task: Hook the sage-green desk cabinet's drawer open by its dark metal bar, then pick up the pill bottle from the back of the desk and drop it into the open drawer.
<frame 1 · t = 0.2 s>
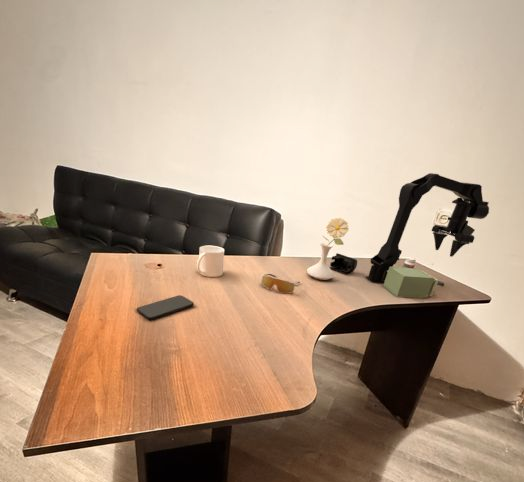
hand: (443, 253, 132), 15 cm above the table, tool pointing down, fingers open, 9 cm apart
end cap: (341, 271, 140), on the table
flower in vase: (320, 278, 127), on the table
sunglasses: (280, 286, 114), on the table
pill bottle: (405, 275, 146), on the table
cabinet: (404, 291, 125), on the table
drawer: (420, 282, 124), point 4 cm above the table, slide at 1.5 cm
smartphone: (166, 308, 87), on the table
mug: (207, 274, 115), on the table
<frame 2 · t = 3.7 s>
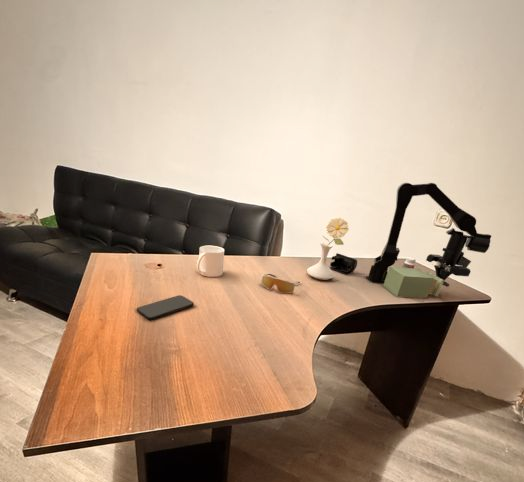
hand: (438, 284, 126), 4 cm above the table, tool pointing down, fingers closed, pressing on drawer
drawer: (425, 283, 125), point 4 cm above the table, slide at 4.0 cm, touching gripper
everything else where it was.
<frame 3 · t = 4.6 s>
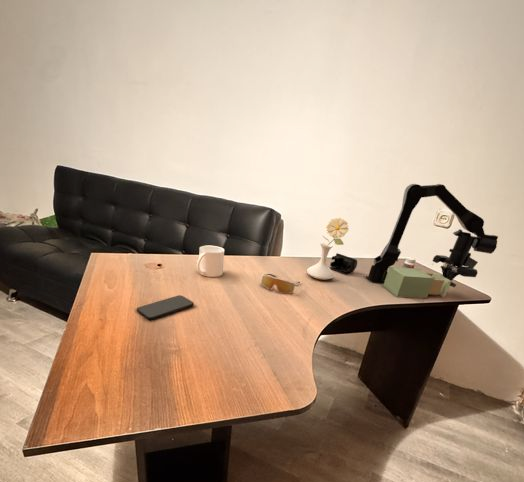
hand: (445, 285, 127), 4 cm above the table, tool pointing down, fingers closed, pressing on drawer
drawer: (432, 283, 125), point 4 cm above the table, slide at 7.4 cm, touching gripper
everything else where it was.
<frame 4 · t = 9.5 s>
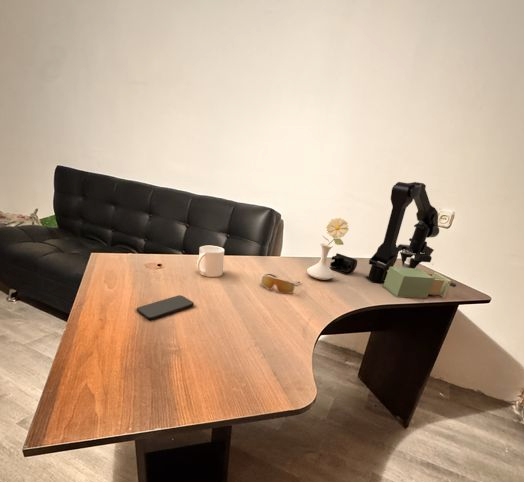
hand: (407, 270, 145), 3 cm above the table, tool pointing down, fingers closed on pill bottle, 5 cm apart
pill bottle: (405, 275, 146), on the table, touching gripper
drawer: (432, 283, 125), point 4 cm above the table, slide at 7.4 cm
everything else where it was.
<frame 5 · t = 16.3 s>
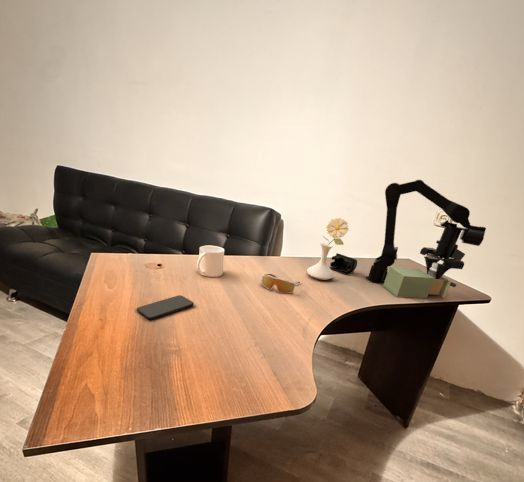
hand: (432, 277, 124), 7 cm above the table, tool pointing down, fingers closed on pill bottle, 5 cm apart
pill bottle: (430, 284, 125), point 4 cm above the table, touching gripper
everything else where it was.
when the fingers open (9 cm above the table, at t = 23.9 s): pill bottle drops 4 cm, resting on drawer.
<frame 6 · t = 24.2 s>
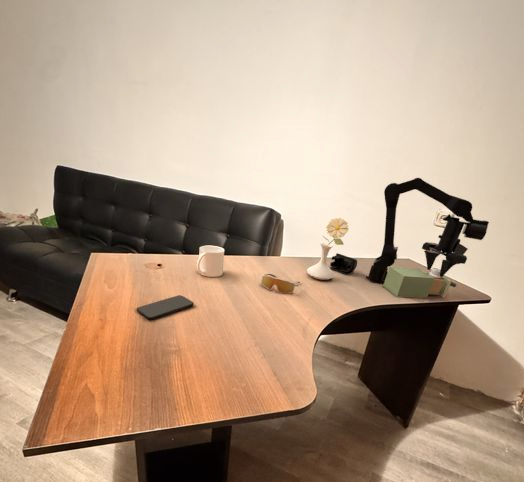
hand: (434, 273, 123), 9 cm above the table, tool pointing down, fingers open, 7 cm apart
pill bottle: (428, 288, 126), point 2 cm above the table, touching drawer
drawer: (432, 283, 126), point 4 cm above the table, slide at 7.4 cm, touching pill bottle
everything else where it was.
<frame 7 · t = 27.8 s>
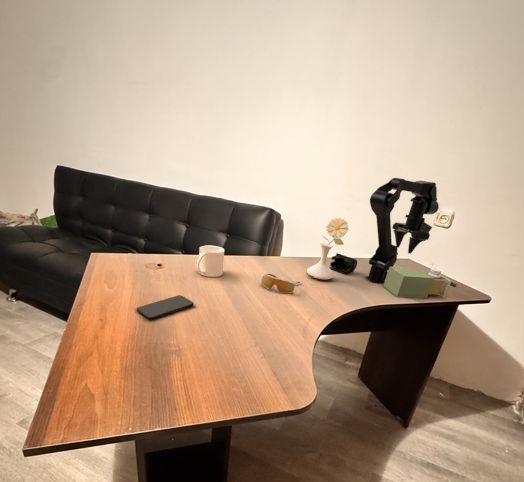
hand: (403, 250, 134), 13 cm above the table, tool pointing down, fingers open, 9 cm apart
nothing on the table moved.
at the end: drawer slide at 7.5 cm; pill bottle inside the target area in the drawer (1.6 cm from its centre), point 1.8 cm above the cabinet's base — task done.
